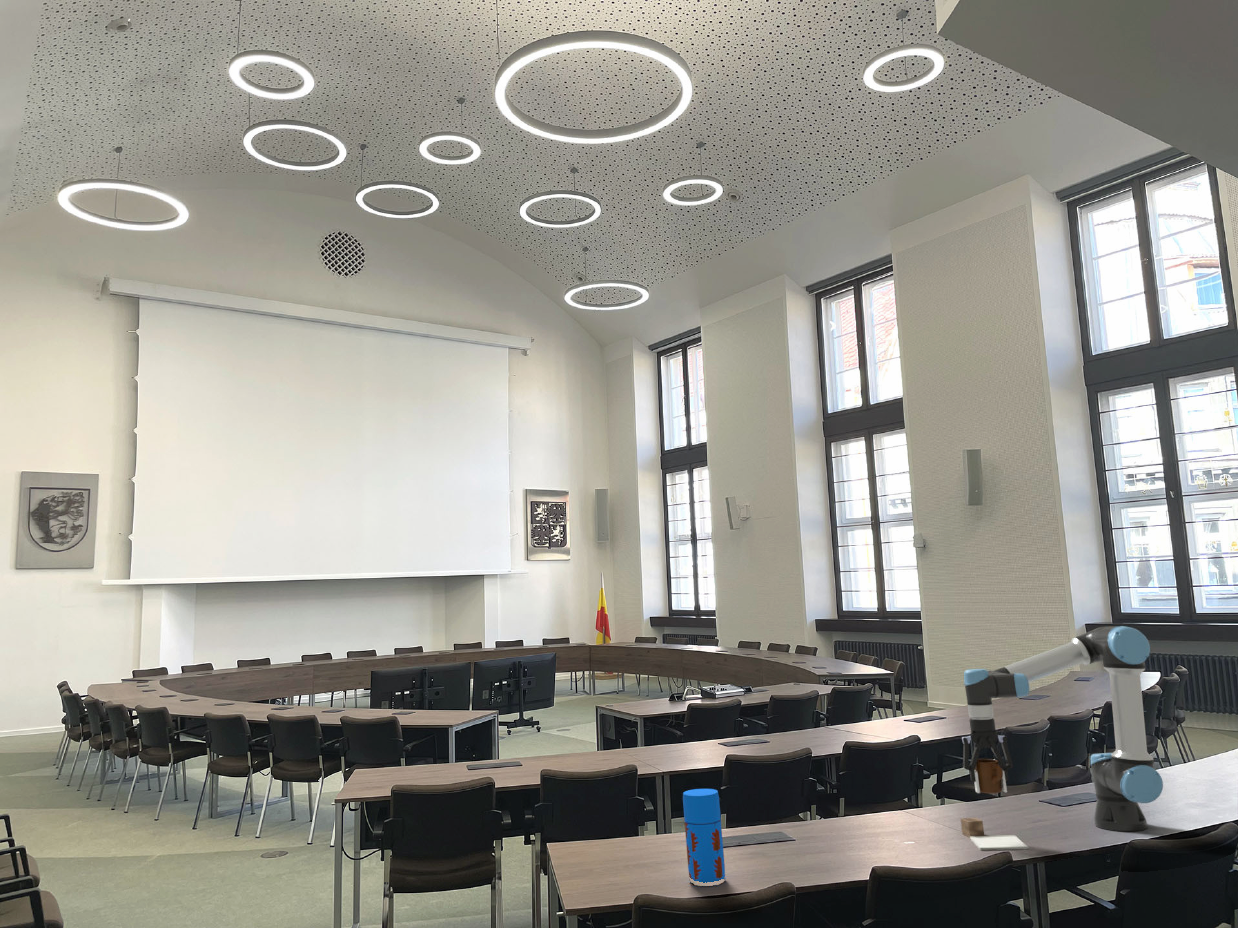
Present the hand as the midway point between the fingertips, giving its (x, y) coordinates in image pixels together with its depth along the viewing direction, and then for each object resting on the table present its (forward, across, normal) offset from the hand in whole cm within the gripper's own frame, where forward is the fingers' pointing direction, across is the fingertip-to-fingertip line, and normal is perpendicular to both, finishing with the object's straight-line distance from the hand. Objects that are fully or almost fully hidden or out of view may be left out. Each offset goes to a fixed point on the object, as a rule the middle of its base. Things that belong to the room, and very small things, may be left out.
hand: (991, 791), depth 269 cm
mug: (0, -1, 0) cm, 1 cm away
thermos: (+17, +90, +34) cm, 97 cm away
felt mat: (+16, 0, 0) cm, 16 cm away
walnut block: (+16, +5, -11) cm, 20 cm away
